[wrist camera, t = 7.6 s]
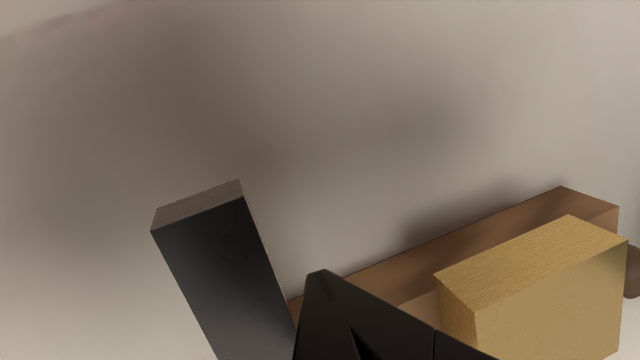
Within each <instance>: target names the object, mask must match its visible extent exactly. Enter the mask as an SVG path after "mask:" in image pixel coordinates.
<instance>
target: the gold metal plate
mask: <svg viewBox="0 0 640 360" xmlns="http://www.w3.org/2000/svg"><path fill="white" fill-rule="evenodd" d="M627 248H628V239H626V238H624V237H621V236H619V235H617V234H614V233H612V232H610V231H607V230H605V229H602V228H600V227H598V226H595V225H593V224H591V223H588V222H586V221H584V220H581V219H579V218H576V217H574V216H572V215H569V214H568V215H565V216H563V217H561V218H558V219H556V220H554V221H552V222H549V223H547V224H545V225H543V226H540V227H538V228H536V229H534V230H531V231H529V232H527V233H525V234H522V235H520V236H518V237H516V238H513V239H511V240H509V241H506V242H504V243H502V244H500V245H497V246H495V247H493V248H491V249H488V250H486V251H484V252H482V253H479V254H477V255H475V256H473V257H470V258H468V259H466V260H463V261H461V262H459V263H457V264H454V265H452V266H450V267H448V268H445V269H443V270H441V271H439V272H436V273H434V274H433V279H434V285H435V291H436V297H437V303H438V309H439V316H440V322H441V328H442V332H444V333H446V334H448V335H450V336H452V337H454V338H456V339H458V340H460V341H462V342H464V343H466V344H467V345H469V346H471V347H473V348H475V349H477V350H480V351H482V352H484V353H486V354H488V355H491V356H493V357H495V358H497V359H500V360H603V359H604V358H606V357H608V356H610V355H612V354H613V353H615V352H617V351H618V346H619V335H620V324H621V313H622V302H623V292H624V281H625V270H626V259H627Z"/></svg>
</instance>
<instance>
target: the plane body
mask: <svg viewBox="0 0 640 360" xmlns="http://www.w3.org/2000/svg"><path fill="white" fill-rule="evenodd" d="M618 211H619V206H617V205H614V204H611V203H608V202H605V201H603V200H600V199H597V198H594V197H591V196H588V195H585V194H583V193H580V192H577V191H574V190H571V189H568V188H566V187H563V186H560V187H558V188H556V189H553V190H551V191H548V192H546V193H544V194H541V195H539V196H537V197H534V198H532V199H529V200H527V201H525V202H522V203H520V204H518V205H515V206H513V207H510V208H508V209H506V210H503V211H501V212H499V213H496V214H494V215H492V216H489V217H487V218H484V219H482V220H480V221H477V222H475V223H473V224H470V225H468V226H465V227H463V228H461V229H458V230H456V231H454V232H451V233H449V234H447V235H444V236H442V237H439V238H437V239H435V240H432V241H430V242H428V243H425V244H423V245H420V246H418V247H416V248H413V249H411V250H409V251H406V252H404V253H401V254H399V255H397V256H394V257H392V258H390V259H387V260H385V261H383V262H380V263H378V264H375V265H373V266H371V267H368V268H366V269H364V270H361V271H359V272H356V273H354V274H352V275H349V276H347V277H345V278H344V279H345V280H347V281H349V282H351V283H353V284H355V285H357V286H358V287H360V288H362V289H364V290H366V291H368V292H370V293H371V294H373V295H375V296H377V297H379V298H381V299H383V300H384V301H386V302H388V303H390V304H392V305H394V306H396V307H397V308H399V309H401V310H403V311H405V312H407V313H409V314H411V315H412V316H414V317H416V318H418V319H420V320H422V321H424V322H425V323H427V324H429V325H431V326H433V327H434V328H435V330H436V329H439V330H441V331H442V328H441V322H440V316H439V309H438V303H437V297H436V291H435V285H434V279H433V274H434V273H436V272H439V271H441V270H443V269H445V268H448V267H450V266H452V265H454V264H457V263H459V262H461V261H463V260H466V259H468V258H470V257H473V256H475V255H477V254H479V253H482V252H484V251H486V250H488V249H491V248H493V247H495V246H497V245H500V244H502V243H504V242H506V241H509V240H511V239H513V238H516V237H518V236H520V235H522V234H525V233H527V232H529V231H531V230H534V229H536V228H538V227H540V226H543V225H545V224H547V223H549V222H552V221H554V220H556V219H558V218H561V217H563V216H565V215H568V214H569V215H572V216H574V217H576V218H579V219H581V220H584V221H586V222H588V223H591V224H593V225H595V226H598V227H600V228H602V229H605V230H607V231H610V232H612V233H614V234H617V224H618ZM638 296H640V249H639V248H637V247H634V246H632V245H630V244H628V248H627V259H626V270H625V281H624V292H623V297H625V298H627V299H633V298H636V297H638ZM302 298H303V295H302V296H300V297H297V298H295V299H292V300H290V301H288V302H287V303H288V305H289V308H290V310H291V313H292V316H293V318H294V321H295V323H296V326H297V327H298V321H299V315H300V310H301V304H302Z"/></svg>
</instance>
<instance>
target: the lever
mask: <svg viewBox="0 0 640 360" xmlns="http://www.w3.org/2000/svg"><path fill="white" fill-rule="evenodd" d="M150 232H151V234H152V236H153V238H154V240H155V242H156V244H157V246H158V248H159V249H160V251H161V253H162V255H163V257H164V259H165V261H166V263H167V264H168V266H169V268H170V270H171V272H172V274H173V276H174V278H175V280H176V281H177V283H178V285H179V287H180V289H181V291H182V293H183V295H184V296H185V298H186V300H187V302H188V304H189V306H190V308H191V310H192V312H193V313H194V315H195V317H196V319H197V321H198V323H199V325H200V327H201V329H202V330H203V332H204V334H205V336H206V338H207V340H208V342H209V344H210V345H211V347H212V349H213V351H214V353H215V355H216V357H217V359H218V360H292V356H293V350H294V344H295V338H296V333H297V326H296V323H295V321H294V318H293V316H292V313H291V310H290V308H289V305H288V303H287V300H286V298H285V295H284V293H283V290H282V287H281V285H280V282H279V280H278V277H277V275H276V272H275V270H274V267H273V264H272V262H271V259H270V257H269V254H268V252H267V249H266V247H265V244H264V241H263V239H262V236H261V234H260V231H259V229H258V226H257V224H256V221H255V219H254V216H253V213H252V211H251V208H250V206H249V203H248V201H247V198H246V196H245V193H244V190H243V188H242V185H241V183H240V180H239V179H237V180H234V181H231V182H228V183H226V184H223V185H220V186H217V187H215V188H212V189H209V190H206V191H204V192H201V193H198V194H195V195H192V196H190V197H187V198H184V199H181V200H179V201H176V202H173V203H170V204H168V205H165V206H162V207H159V208H157V210H156V214H155V217H154V220H153V223H152V226H151V229H150Z"/></svg>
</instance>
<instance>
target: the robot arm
mask: <svg viewBox="0 0 640 360" xmlns="http://www.w3.org/2000/svg"><path fill="white" fill-rule="evenodd" d="M292 360H500V359H497V358H495V357H493V356H491V355H488V354H486V353H484V352H482V351H480V350H477V349H475V348H473V347H471V346H469V345H467V344H466V343H464V342H462V341H460V340H458V339H456V338H454V337H452V336H450V335H448V334H446V333H444V332H442V331H441V330H439V329H436V330H435V328H434V327H433V326H431V325H429V324H427V323H425V322H424V321H422V320H420V319H418V318H416V317H414V316H412V315H411V314H409V313H407V312H405V311H403V310H401V309H399V308H397V307H396V306H394V305H392V304H390V303H388V302H386V301H384V300H383V299H381V298H379V297H377V296H375V295H373V294H371V293H370V292H368V291H366V290H364V289H362V288H360V287H358V286H357V285H355V284H353V283H351V282H349V281H347V280H345V279H344V278H342V277H340V276H338V275H336V274H334V273H332V272H331V271H329V270H327V269H322V270H319V271H316V272H312V273H309V274H307V276H306V281H305V287H304V292H303V298H302V304H301V310H300V315H299V321H298V327H297V333H296V338H295V344H294V350H293V356H292Z"/></svg>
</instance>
